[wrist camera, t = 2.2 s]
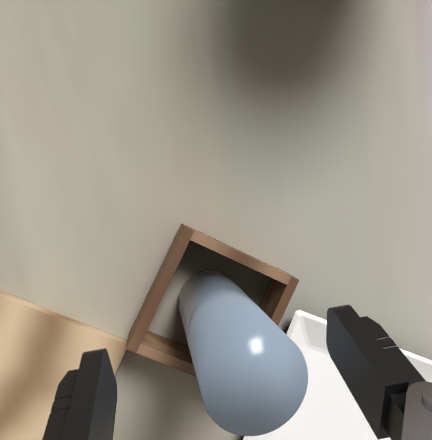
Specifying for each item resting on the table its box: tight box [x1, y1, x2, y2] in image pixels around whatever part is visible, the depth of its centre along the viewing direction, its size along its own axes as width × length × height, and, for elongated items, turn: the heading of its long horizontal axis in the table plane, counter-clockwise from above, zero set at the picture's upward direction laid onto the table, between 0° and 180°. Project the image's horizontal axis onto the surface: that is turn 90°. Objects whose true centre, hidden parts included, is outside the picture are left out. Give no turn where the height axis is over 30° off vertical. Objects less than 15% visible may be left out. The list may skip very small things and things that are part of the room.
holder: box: [127, 224, 299, 377], centre depth 32 cm, size 11×11×4 cm
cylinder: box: [178, 271, 308, 436], centre depth 26 cm, size 6×6×15 cm
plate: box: [243, 310, 432, 440], centre depth 36 cm, size 19×19×2 cm
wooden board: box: [0, 291, 128, 440], centre depth 31 cm, size 14×14×1 cm
